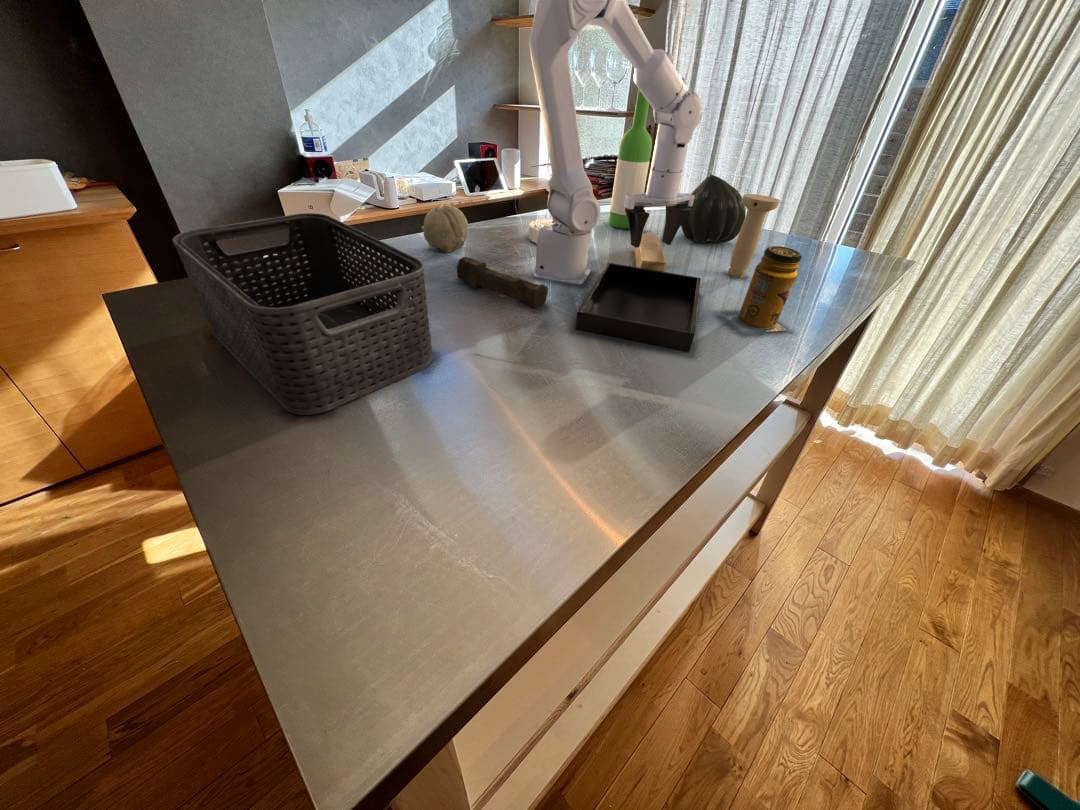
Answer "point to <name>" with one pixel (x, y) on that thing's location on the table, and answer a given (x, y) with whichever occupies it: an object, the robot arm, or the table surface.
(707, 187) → the squash
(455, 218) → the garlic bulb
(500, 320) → the table surface
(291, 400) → the storage bin
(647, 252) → the stick
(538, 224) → the mooncake
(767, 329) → the condiment
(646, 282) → the black tray
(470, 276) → the hand tool
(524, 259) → the table surface
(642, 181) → the wine bottle
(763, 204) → the handle
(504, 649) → the table surface
